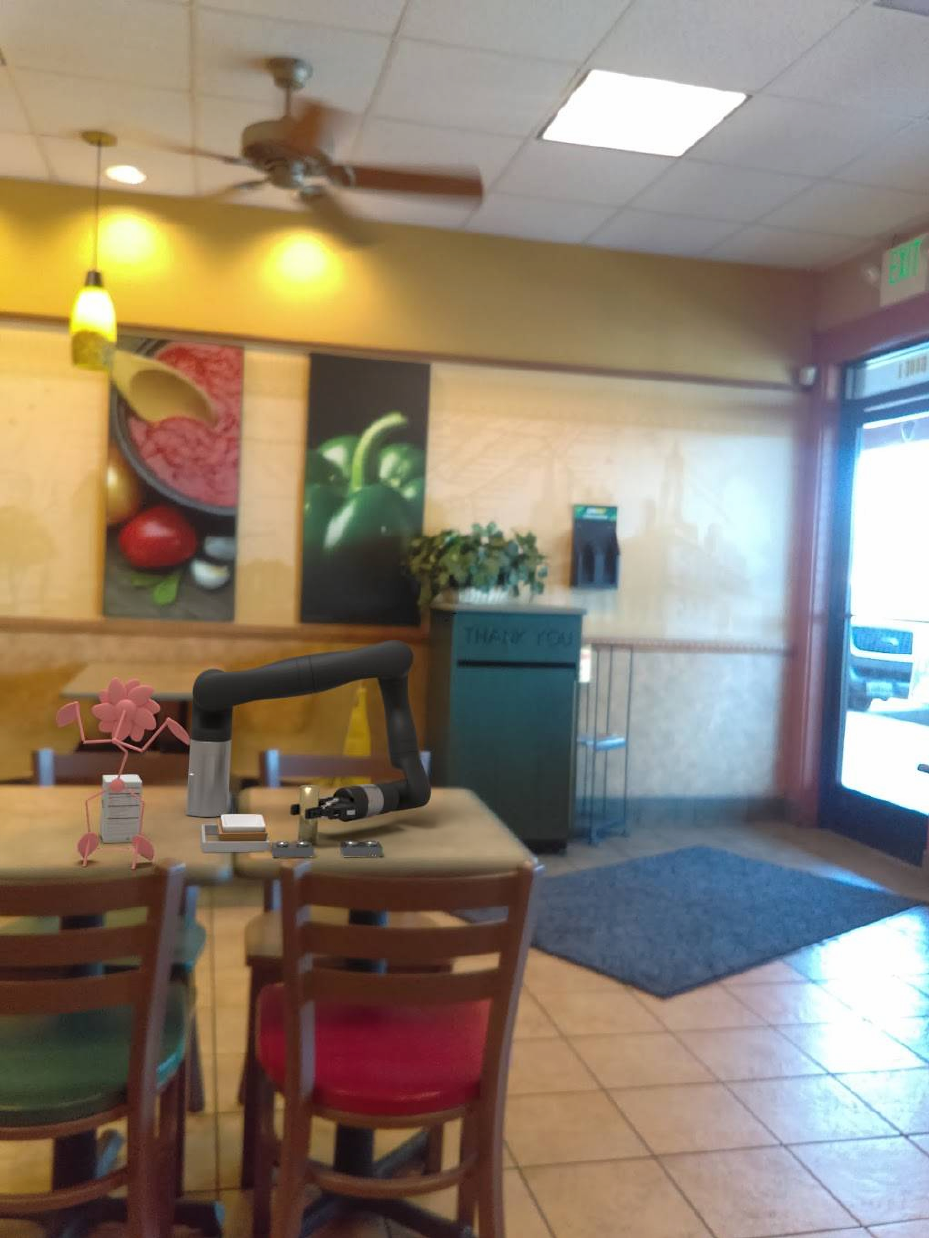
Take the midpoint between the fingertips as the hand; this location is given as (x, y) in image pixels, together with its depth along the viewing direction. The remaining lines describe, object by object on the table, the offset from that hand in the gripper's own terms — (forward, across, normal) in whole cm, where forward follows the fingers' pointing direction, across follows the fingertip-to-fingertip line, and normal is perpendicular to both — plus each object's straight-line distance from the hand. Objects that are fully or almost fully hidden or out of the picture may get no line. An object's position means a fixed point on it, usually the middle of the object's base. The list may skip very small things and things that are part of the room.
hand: (299, 812), depth 222 cm
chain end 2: (-6, +13, +7) cm, 16 cm away
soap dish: (+8, -9, +7) cm, 14 cm away
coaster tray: (+9, -10, +7) cm, 15 cm away
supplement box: (+25, -26, +7) cm, 37 cm away
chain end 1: (+6, +5, +7) cm, 10 cm away
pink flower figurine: (+34, -12, +7) cm, 37 cm away
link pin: (-3, 0, +7) cm, 8 cm away
